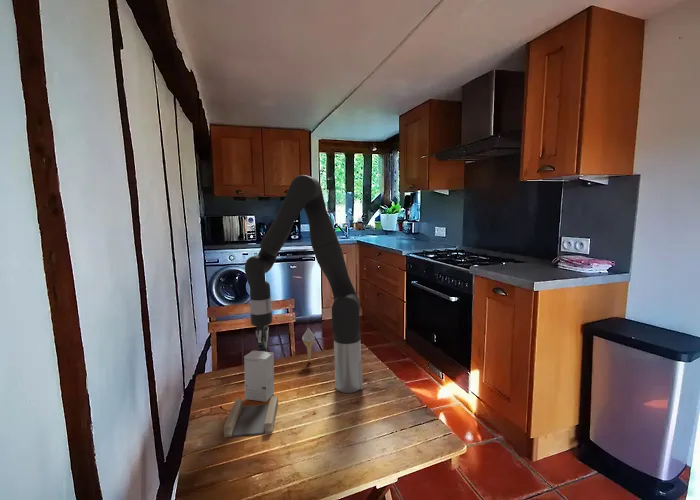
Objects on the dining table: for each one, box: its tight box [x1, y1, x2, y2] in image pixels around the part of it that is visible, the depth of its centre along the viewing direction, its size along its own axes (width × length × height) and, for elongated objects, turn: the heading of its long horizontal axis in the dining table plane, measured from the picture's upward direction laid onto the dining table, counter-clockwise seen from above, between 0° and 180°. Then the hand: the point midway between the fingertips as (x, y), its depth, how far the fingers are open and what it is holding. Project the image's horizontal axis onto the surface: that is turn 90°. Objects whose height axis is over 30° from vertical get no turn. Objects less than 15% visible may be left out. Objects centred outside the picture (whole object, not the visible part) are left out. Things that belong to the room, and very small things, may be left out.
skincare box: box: [243, 350, 275, 403], centre depth 110 cm, size 8×6×15 cm
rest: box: [223, 395, 279, 438], centre depth 98 cm, size 13×14×3 cm
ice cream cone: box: [301, 326, 316, 363], centre depth 136 cm, size 6×6×15 cm
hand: (263, 357), depth 120 cm, fingers closed
